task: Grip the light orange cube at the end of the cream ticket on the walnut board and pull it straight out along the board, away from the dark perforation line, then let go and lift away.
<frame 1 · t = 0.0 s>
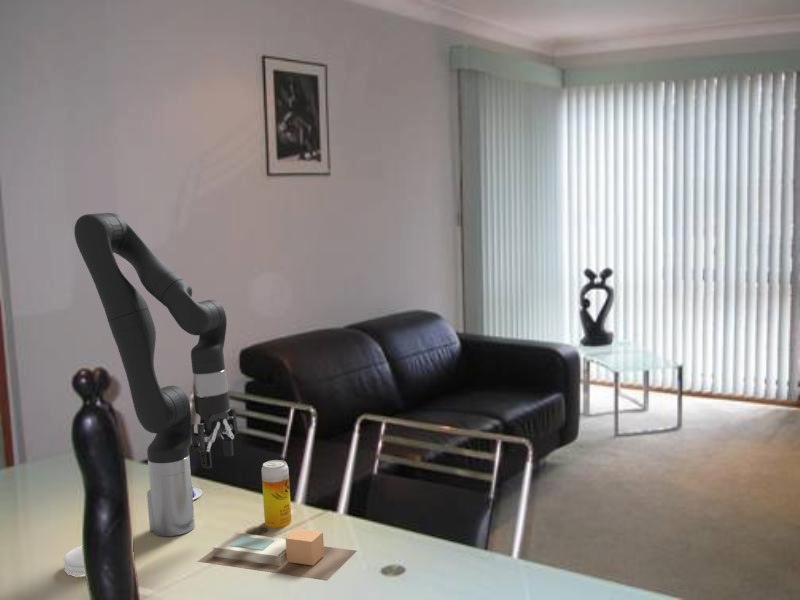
hand: (218, 461, 187), 17 cm above the table, tool pointing down, fingers open, 8 cm apart
white frilly dome: (90, 568, 176), on the table
light orange cube: (305, 546, 172), point 4 cm above the table, slide at 0.0 cm
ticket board: (278, 560, 175), on the table
pudding: (178, 498, 215), on the table
beer can: (278, 527, 193), on the table
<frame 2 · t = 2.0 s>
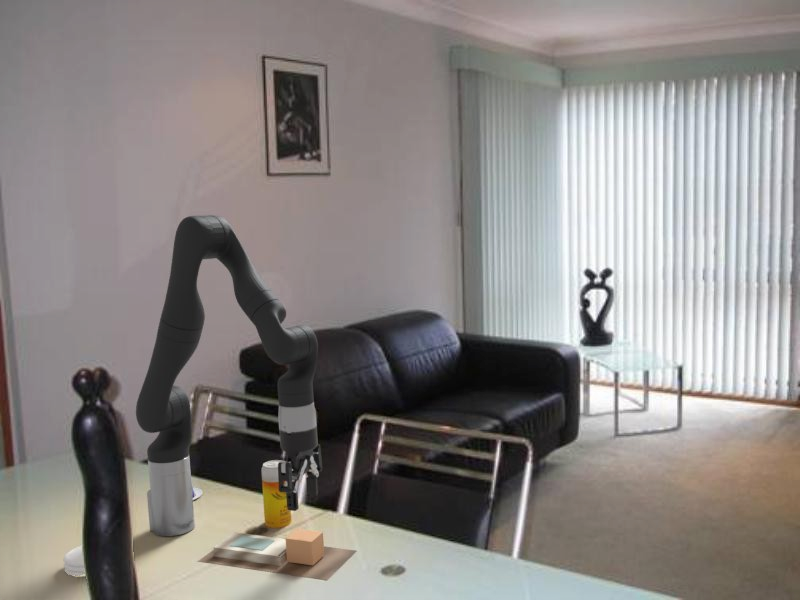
hand: (303, 502, 171), 13 cm above the table, tool pointing down, fingers open, 8 cm apart
nothing on the table moved.
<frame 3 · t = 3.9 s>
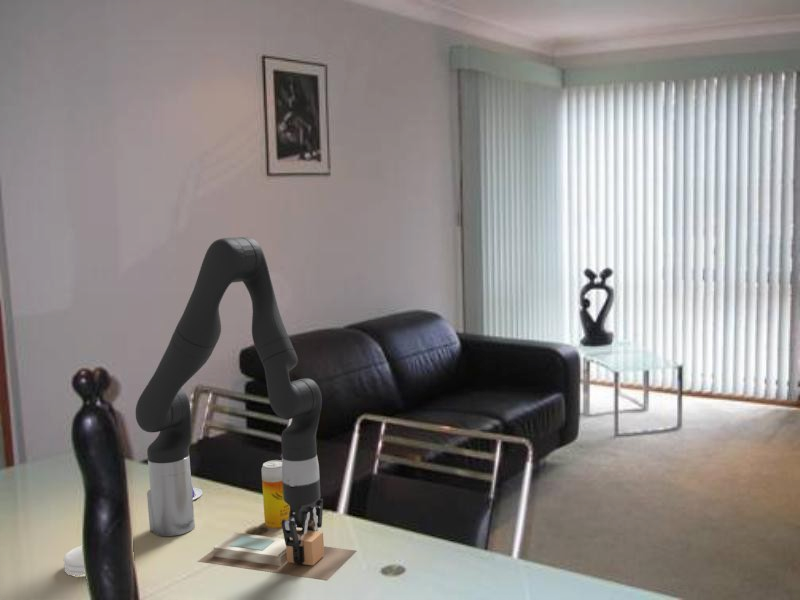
hand: (305, 556, 173), 2 cm above the table, tool pointing down, fingers closed on light orange cube, 5 cm apart
light orange cube: (305, 546, 172), point 4 cm above the table, slide at 0.0 cm, touching gripper
everything else where it was.
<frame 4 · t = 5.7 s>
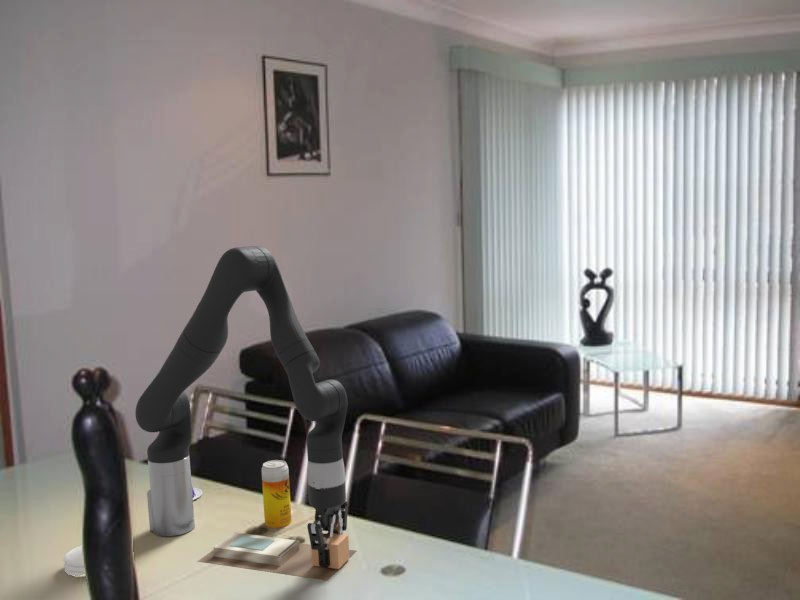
hand: (330, 560, 170), 2 cm above the table, tool pointing down, fingers closed on light orange cube, 5 cm apart
light orange cube: (330, 550, 170), point 4 cm above the table, slide at 5.8 cm, touching gripper
everything else where it was.
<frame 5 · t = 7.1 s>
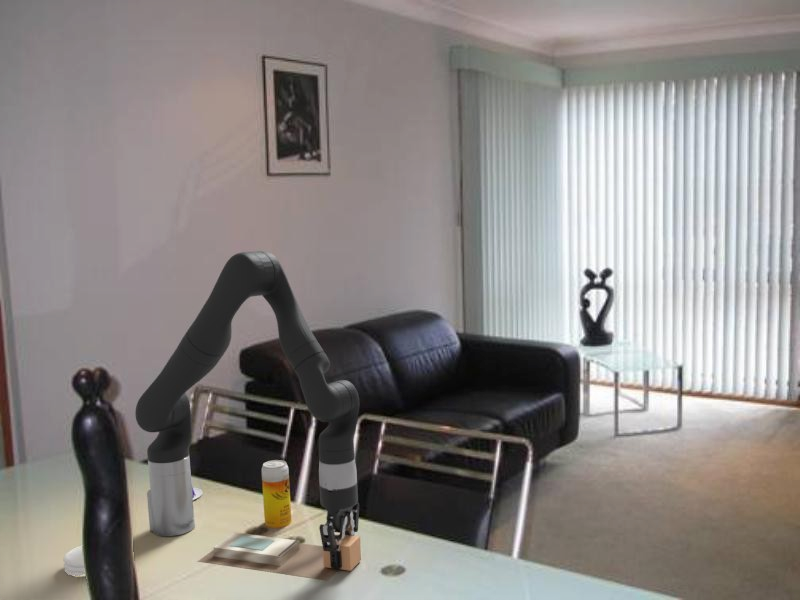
hand: (342, 561, 169), 2 cm above the table, tool pointing down, fingers closed on light orange cube, 5 cm apart
light orange cube: (341, 551, 169), point 4 cm above the table, slide at 8.4 cm, touching gripper
everything else where it was.
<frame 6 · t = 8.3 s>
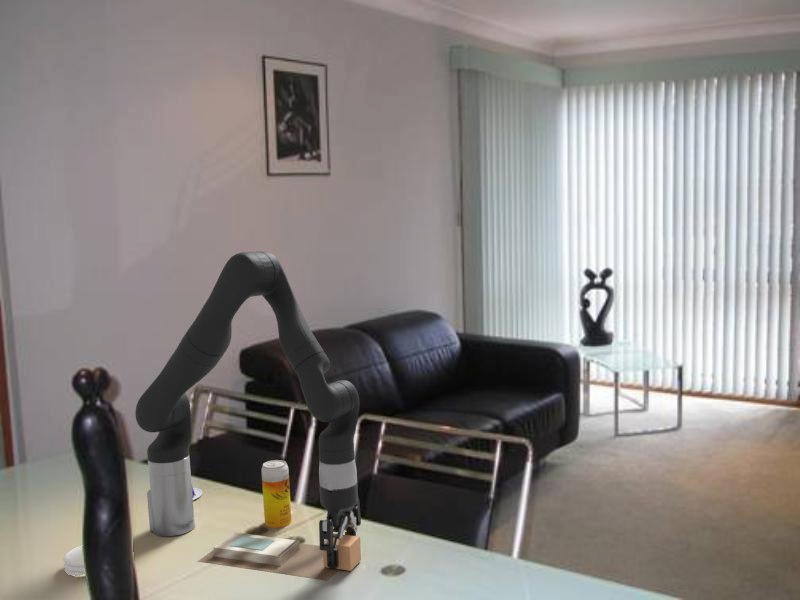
hand: (342, 558, 169), 2 cm above the table, tool pointing down, fingers open, 8 cm apart
light orange cube: (341, 551, 169), point 4 cm above the table, slide at 8.4 cm
everything else where it was.
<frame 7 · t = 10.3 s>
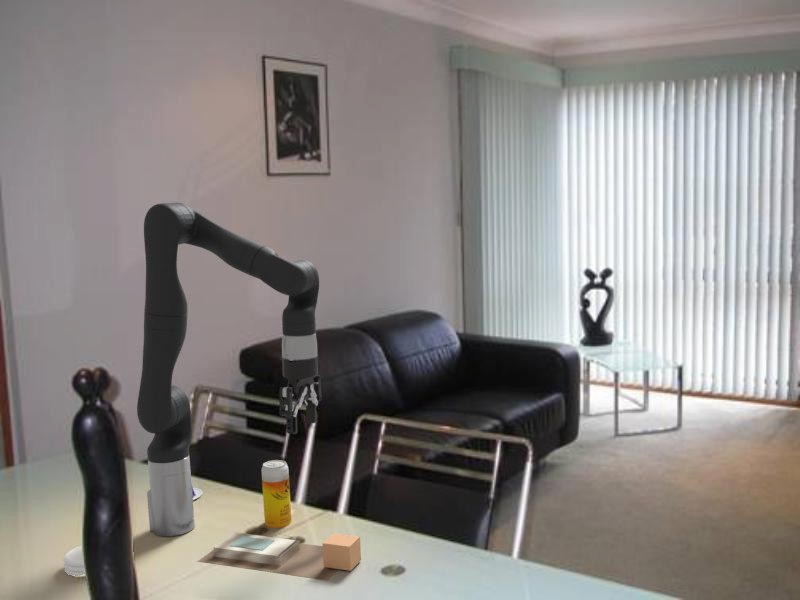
hand: (301, 427, 181), 26 cm above the table, tool pointing down, fingers open, 8 cm apart
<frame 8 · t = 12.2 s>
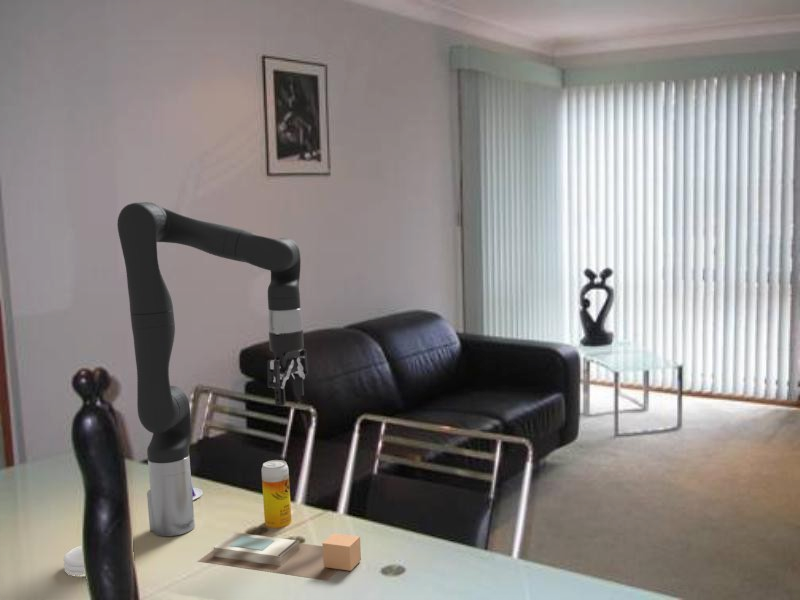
hand: (290, 400, 188), 30 cm above the table, tool pointing down, fingers open, 8 cm apart
at the end: light orange cube slide at 8.4 cm; the gripper is holding nothing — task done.
